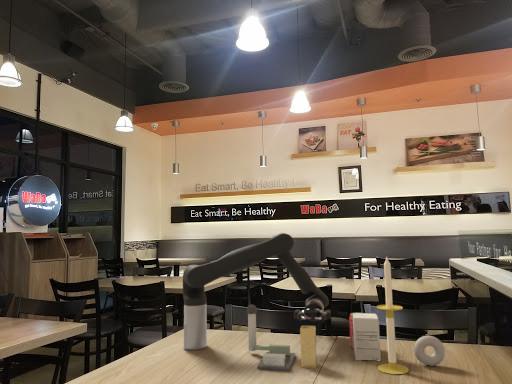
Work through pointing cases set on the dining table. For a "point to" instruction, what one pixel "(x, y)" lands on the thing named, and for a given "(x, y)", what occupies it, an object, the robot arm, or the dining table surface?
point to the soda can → (351, 330)
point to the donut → (432, 359)
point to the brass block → (308, 346)
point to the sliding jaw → (252, 335)
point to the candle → (390, 326)
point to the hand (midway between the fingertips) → (311, 318)
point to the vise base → (288, 364)
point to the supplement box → (366, 336)
